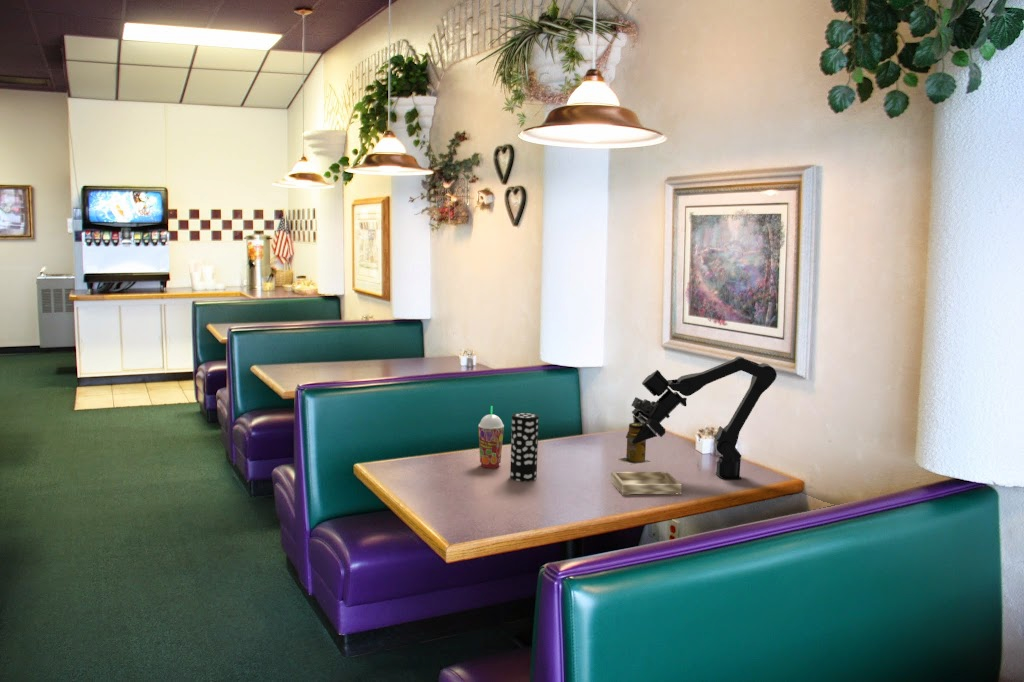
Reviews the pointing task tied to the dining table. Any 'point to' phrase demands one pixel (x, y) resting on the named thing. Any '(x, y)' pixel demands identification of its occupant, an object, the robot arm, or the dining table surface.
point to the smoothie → (490, 440)
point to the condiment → (634, 446)
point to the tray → (645, 483)
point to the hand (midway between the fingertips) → (629, 440)
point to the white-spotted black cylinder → (524, 446)
